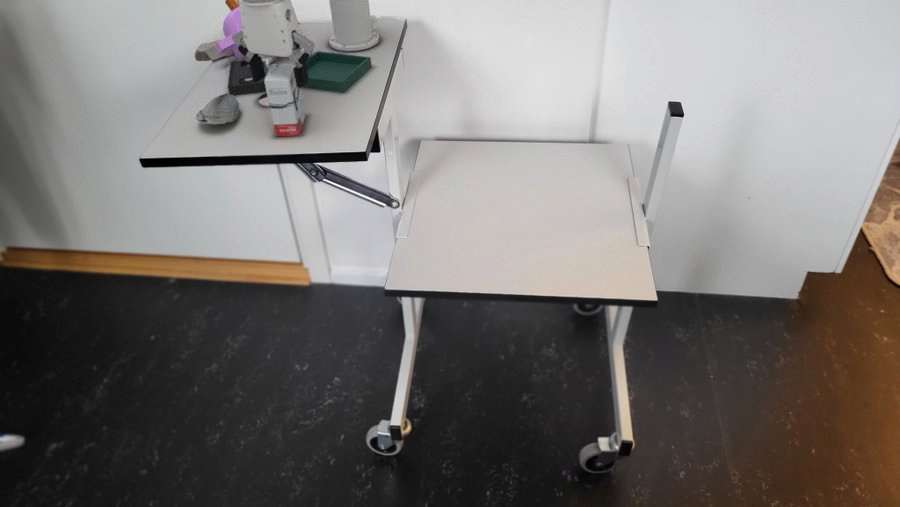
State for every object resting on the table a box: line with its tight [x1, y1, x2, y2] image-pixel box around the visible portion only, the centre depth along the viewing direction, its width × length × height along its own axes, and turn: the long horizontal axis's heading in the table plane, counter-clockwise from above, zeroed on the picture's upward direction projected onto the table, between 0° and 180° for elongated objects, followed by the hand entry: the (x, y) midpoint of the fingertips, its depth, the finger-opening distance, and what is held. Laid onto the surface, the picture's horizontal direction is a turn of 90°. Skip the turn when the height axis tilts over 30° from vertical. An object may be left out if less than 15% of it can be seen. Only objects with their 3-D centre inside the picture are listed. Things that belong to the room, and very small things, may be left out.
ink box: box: [264, 63, 306, 137], centre depth 131 cm, size 8×5×12 cm, turn 2°
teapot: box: [215, 5, 245, 61], centre depth 160 cm, size 20×12×13 cm
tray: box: [301, 50, 372, 94], centre depth 153 cm, size 14×14×2 cm
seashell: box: [195, 93, 240, 125], centre depth 137 cm, size 12×8×5 cm
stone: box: [194, 39, 234, 62], centre depth 165 cm, size 12×5×3 cm, turn 131°
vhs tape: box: [227, 60, 268, 96], centre depth 153 cm, size 14×8×2 cm, turn 12°
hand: (281, 82), depth 129 cm, fingers open, 9 cm apart
